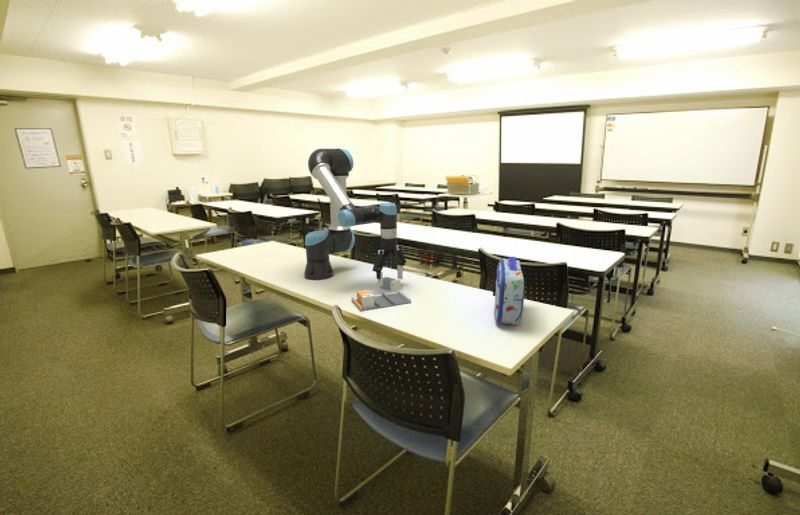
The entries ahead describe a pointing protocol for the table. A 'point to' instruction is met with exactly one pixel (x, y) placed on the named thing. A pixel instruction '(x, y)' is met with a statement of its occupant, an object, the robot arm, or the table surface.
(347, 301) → the table surface
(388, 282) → the grey block
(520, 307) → the lunch box
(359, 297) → the orange and white block
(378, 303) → the grey divided tray
